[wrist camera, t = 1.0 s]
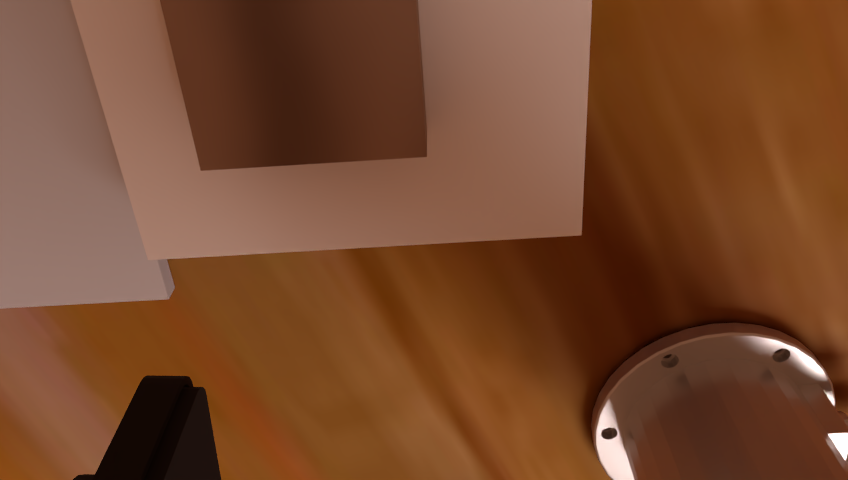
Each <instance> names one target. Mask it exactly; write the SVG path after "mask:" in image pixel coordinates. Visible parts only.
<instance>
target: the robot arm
mask: <svg viewBox="0 0 848 480" xmlns="http://www.w3.org/2000/svg"><path fill="white" fill-rule="evenodd" d="M835 403H836V399H835V394H834V389H833V384H832V382H831V380H830V378H829V376H828V374H827V372H826V371H825V369H824V367H823V366H822V365H821V363H820V362H819V361H818V359H817V358H816V357H815V355H814V354H813V353H812V352H811V351H810V350H809V349H808V348H807V347H805V346H804V345H803V344H802V343H801V342H799V341H798V340H797V339H795V338H793V337H791V336H789V335H787V334H785V333H783V332H781V331H778V330H775V329H771V328H768V327H764V326H761V325H754V324H744V323H718V324H708V325H703V326H698V327H693V328H688V329H685V330H682V331H679V332H676V333H674V334H671V335H668V336H665V337H663V338H661V339H659V340H657V341H655V342H653V343H651V344H650V345H648V346H646V347H644V348H642V349H641V350H639V351H638V352H637V353H635V354H634V355H633V356H631V357H630V358H629V359H627V360H626V361H625V362H624V363H623V364H622V365H621V366H620V367H619V368H618V369H617V370H616V371H615V372H614V373H613V374H612V375H611V376H610V377H609V379H608V380H607V382H606V384H605V385H604V387H603V388H602V390H601V391H600V393H599V395H598V398H597V400H596V403H595V406H594V408H593V413H592V421H591V431H592V438H593V444H594V447H595V450H596V453H597V457H598V460H599V462H600V464H601V465H602V467H603V469H604V470H605V472H606V474H607V475H608V476H609V477H610V478H611V479H612V480H848V417H847V415H846V414H845V413H843V412H842V411H837V410H836V409H835ZM73 480H221V476H220V471H219V465H218V459H217V453H216V447H215V442H214V436H213V430H212V424H211V419H210V413H209V407H208V401H207V395H206V391H205V389H204V388H203V387H193V384H192V380H191V379H190V377H188V376H146V377H144V378H143V379H142V381H141V382H140V384H139V386H138V388H137V390H136V392H135V394H134V396H133V398H132V400H131V402H130V404H129V406H128V408H127V410H126V412H125V415H124V417H123V419H122V421H121V423H120V425H119V427H118V429H117V431H116V433H115V435H114V437H113V439H112V441H111V443H110V445H109V447H108V449H107V451H106V453H105V455H104V457H103V459H102V461H101V463H100V466H99V468H98V470H97V472H96V474H95V475H89V474H84V475H78V476H77V477H75V478H74V479H73Z"/></svg>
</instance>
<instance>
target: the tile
mask: <svg viewBox="0 0 848 480" xmlns="http://www.w3.org/2000/svg"><path fill="white" fill-rule="evenodd" d="M160 3H161V7H162V11H163V16H164V20H165V24H166V28H167V32H168V36H169V41H170V45H171V49H172V53H173V57H174V61H175V66H176V70H177V74H178V78H179V82H180V86H181V91H182V95H183V99H184V103H185V107H186V111H187V116H188V120H189V124H190V128H191V132H192V136H193V141H194V145H195V149H196V153H197V157H198V161H199V166H200V170H201V171H206V170H223V169H239V168H255V167H271V166H288V165H304V164H320V163H337V162H353V161H369V160H385V159H402V158H418V157H427V123H426V109H425V94H424V80H423V66H422V52H421V38H420V23H419V9H418V0H160Z"/></svg>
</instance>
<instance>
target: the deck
mask: <svg viewBox="0 0 848 480" xmlns="http://www.w3.org/2000/svg"><path fill="white" fill-rule="evenodd" d="M70 1H71V4H72V8H73V11H74V14H75V18H76V21H77V24H78V28H79V31H80V34H81V38H82V41H83V44H84V48H85V51H86V54H87V58H88V61H89V65H90V68H91V71H92V75H93V78H94V81H95V85H96V88H97V91H98V95H99V98H100V101H101V105H102V108H103V111H104V115H105V118H106V121H107V125H108V128H109V131H110V135H111V138H112V141H113V145H114V148H115V152H116V155H117V158H118V162H119V165H120V168H121V172H122V175H123V178H124V182H125V185H126V188H127V192H128V195H129V198H130V202H131V205H132V208H133V212H134V215H135V218H136V222H137V225H138V228H139V232H140V235H141V239H142V242H143V245H144V249H145V252H146V255H147V259H148V260H160V259H177V258H195V257H212V256H230V255H247V254H265V253H282V252H300V251H317V250H335V249H352V248H370V247H387V246H405V245H422V244H440V243H457V242H475V241H492V240H510V239H527V238H545V237H562V236H580V235H582V215H583V193H584V170H585V147H586V125H587V102H588V79H589V57H590V34H591V11H592V0H418V9H419V23H420V38H421V52H422V66H423V80H424V94H425V109H426V123H427V157H418V158H402V159H385V160H369V161H353V162H337V163H320V164H304V165H288V166H271V167H255V168H239V169H223V170H206V171H201V170H200V166H199V161H198V157H197V153H196V149H195V145H194V141H193V136H192V132H191V128H190V124H189V120H188V116H187V111H186V107H185V103H184V99H183V95H182V91H181V86H180V82H179V78H178V74H177V70H176V66H175V61H174V57H173V53H172V49H171V45H170V41H169V36H168V32H167V28H166V24H165V20H164V16H163V11H162V7H161V3H160V0H70Z"/></svg>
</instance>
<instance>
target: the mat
mask: <svg viewBox="0 0 848 480" xmlns="http://www.w3.org/2000/svg"><path fill="white" fill-rule="evenodd" d="M174 288H175V286H174V283H173V279H172V276H171V272H170V269H169V265H168V262H167V259H160V260H148V259H147V255H146V252H145V249H144V245H143V242H142V239H141V235H140V232H139V228H138V225H137V222H136V218H135V215H134V212H133V208H132V205H131V202H130V198H129V195H128V192H127V188H126V185H125V182H124V178H123V175H122V172H121V168H120V165H119V162H118V158H117V155H116V152H115V148H114V145H113V141H112V138H111V135H110V131H109V128H108V125H107V121H106V118H105V115H104V111H103V108H102V105H101V101H100V98H99V95H98V91H97V88H96V85H95V81H94V78H93V75H92V71H91V68H90V65H89V61H88V58H87V54H86V51H85V48H84V44H83V41H82V38H81V34H80V31H79V28H78V24H77V21H76V18H75V14H74V11H73V8H72V4H71V1H70V0H0V308H18V307H36V306H55V305H73V304H91V303H109V302H127V301H145V300H163V299H169V298H170V296H171V294H172V292H173V290H174Z"/></svg>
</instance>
